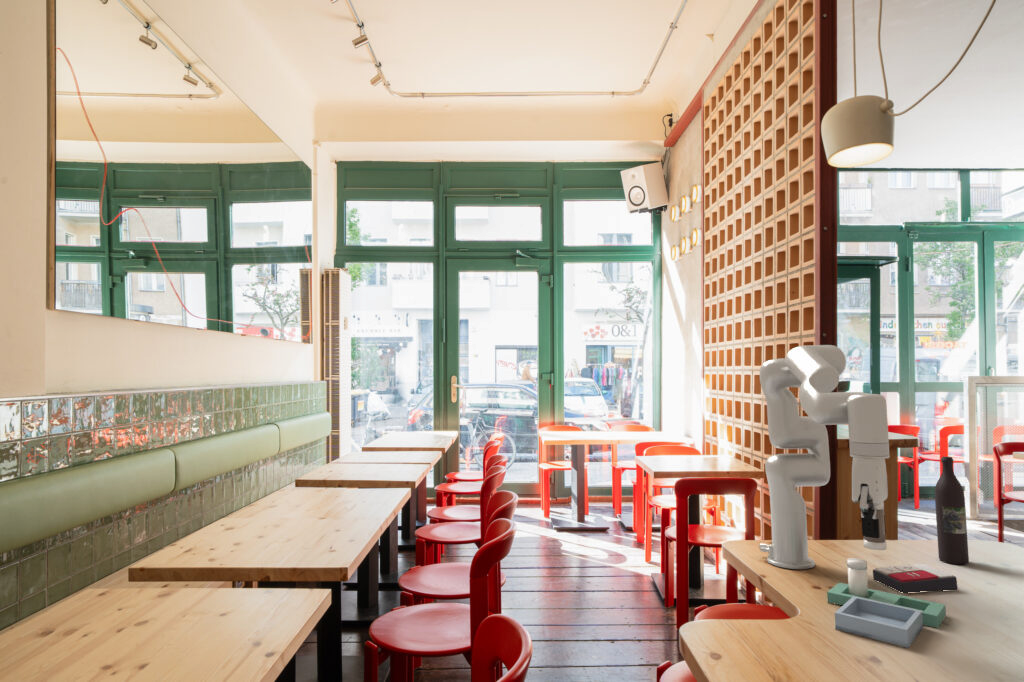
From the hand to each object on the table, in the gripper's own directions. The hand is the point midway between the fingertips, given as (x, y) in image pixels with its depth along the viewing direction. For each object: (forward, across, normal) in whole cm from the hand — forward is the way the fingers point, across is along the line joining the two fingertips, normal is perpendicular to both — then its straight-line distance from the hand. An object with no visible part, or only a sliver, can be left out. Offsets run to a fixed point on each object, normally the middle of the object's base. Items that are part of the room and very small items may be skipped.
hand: (874, 534), depth 131 cm
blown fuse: (+3, 0, 0) cm, 3 cm away
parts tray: (+20, 0, 0) cm, 20 cm away
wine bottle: (+20, -66, +3) cm, 69 cm away
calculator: (+21, -36, -1) cm, 42 cm away
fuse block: (+20, -13, -2) cm, 24 cm away
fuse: (+20, -13, -8) cm, 25 cm away
